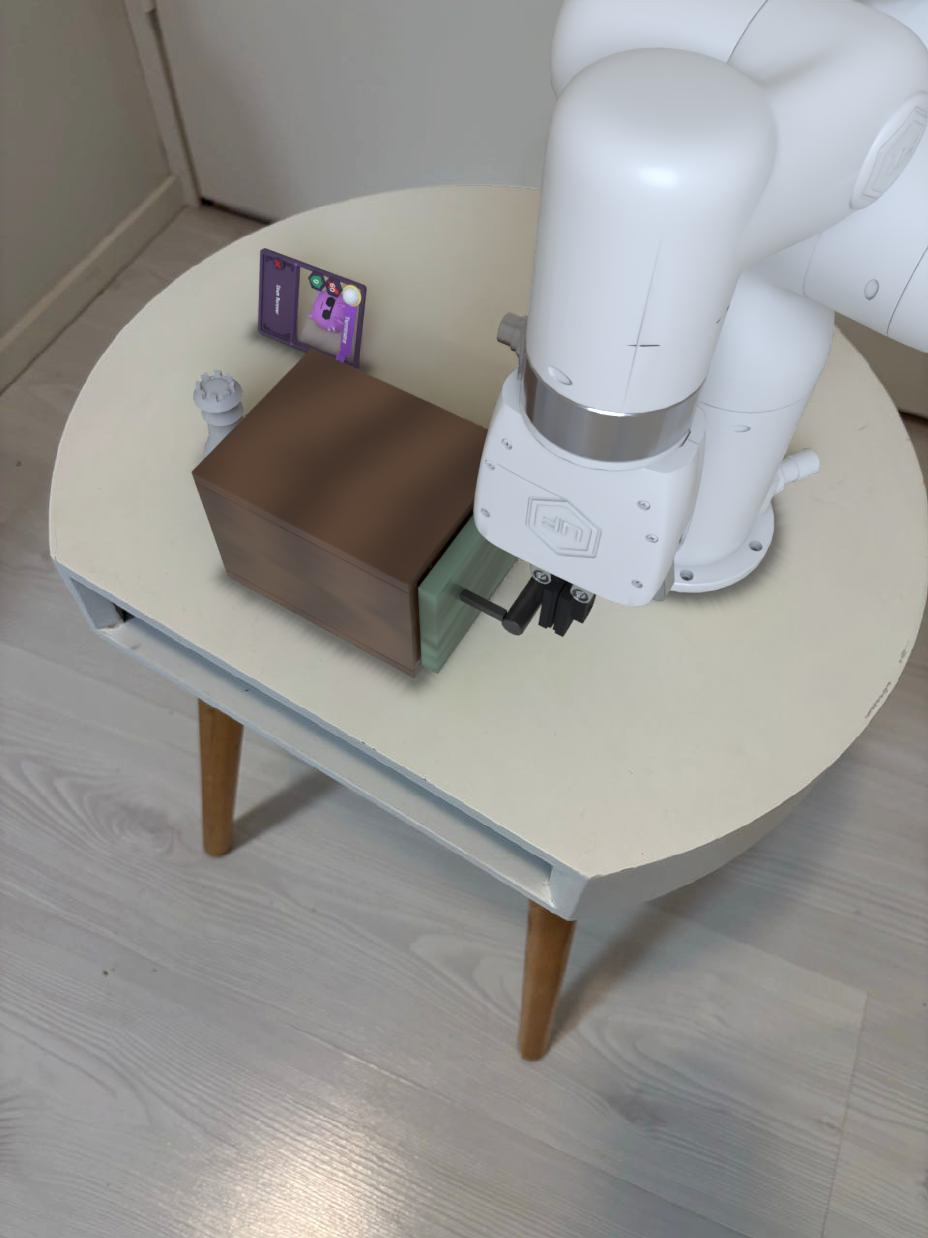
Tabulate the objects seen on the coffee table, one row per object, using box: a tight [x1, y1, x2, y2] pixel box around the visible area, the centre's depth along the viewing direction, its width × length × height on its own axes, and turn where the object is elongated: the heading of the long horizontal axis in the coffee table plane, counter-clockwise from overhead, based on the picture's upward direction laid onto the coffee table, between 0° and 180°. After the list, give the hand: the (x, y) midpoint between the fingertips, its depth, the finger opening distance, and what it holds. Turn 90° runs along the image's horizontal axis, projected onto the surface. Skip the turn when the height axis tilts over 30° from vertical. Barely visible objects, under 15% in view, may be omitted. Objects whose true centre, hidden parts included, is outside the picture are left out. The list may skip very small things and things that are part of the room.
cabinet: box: [190, 348, 488, 679], centre depth 61 cm, size 15×12×11 cm
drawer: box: [418, 507, 542, 675], centre depth 60 cm, size 18×11×9 cm, turn 59°
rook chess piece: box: [192, 369, 245, 459], centre depth 66 cm, size 4×4×8 cm
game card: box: [257, 247, 368, 370], centre depth 74 cm, size 7×5×9 cm
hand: (562, 612), depth 56 cm, fingers closed
